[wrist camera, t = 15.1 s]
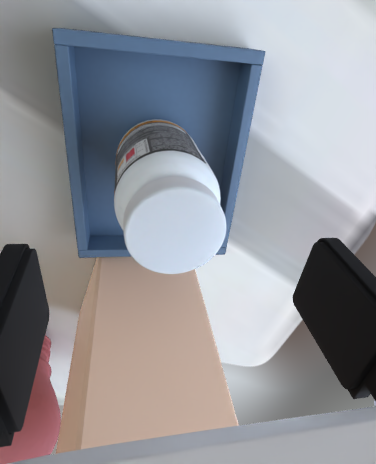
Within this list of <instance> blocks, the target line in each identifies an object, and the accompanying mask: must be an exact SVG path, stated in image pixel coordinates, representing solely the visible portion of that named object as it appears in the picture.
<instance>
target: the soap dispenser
mask: <svg viewBox="0 0 376 464" xmlns="http://www.w3.org/2000/svg"><path fill="white" fill-rule="evenodd" d="M232 426H239V425H238V421H237V418H236V414H235V411H234V407H233V403H232V400H231V396H230V393H229V389H228V385H227V382H226V379H225V375H224V372H223V368H222V364H221V361H220V357H219V353H218V350H217V346H216V343H215V339H214V336H213V332H212V329H211V325H210V321H209V318H208V314H207V311H206V307H205V304H204V300H203V296H202V293H201V289H200V286H199V282H198V279H197V275H196V272H195V269H194V270H191V271H188V272H184V273H179V274H164V273H158V272H154V271H151V270H149V269H147V268H145V267H143V266H141V265H140V264H139V263H138V262H137V261H135V260H134V258H133V257H97V258H96V261H95V265H94V268H93V271H92V274H91V278H90V281H89V284H88V287H87V290H86V294H85V297H84V300H83V303H82V306H81V310H80V313H79V318H78V324H77V330H76V336H75V342H74V348H73V354H72V360H71V366H70V372H69V378H68V384H67V390H66V396H65V402H64V408H63V413H62V420H61V425H60V431H59V437H58V443H57V449H56V454H57V453H63V452H69V451H75V450H81V449H87V448H93V447H99V446H105V445H111V444H117V443H124V442H131V441H138V440H144V439H151V438H158V437H164V436H171V435H178V434H185V433H191V432H198V431H205V430H212V429H218V428H225V427H232Z"/></svg>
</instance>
